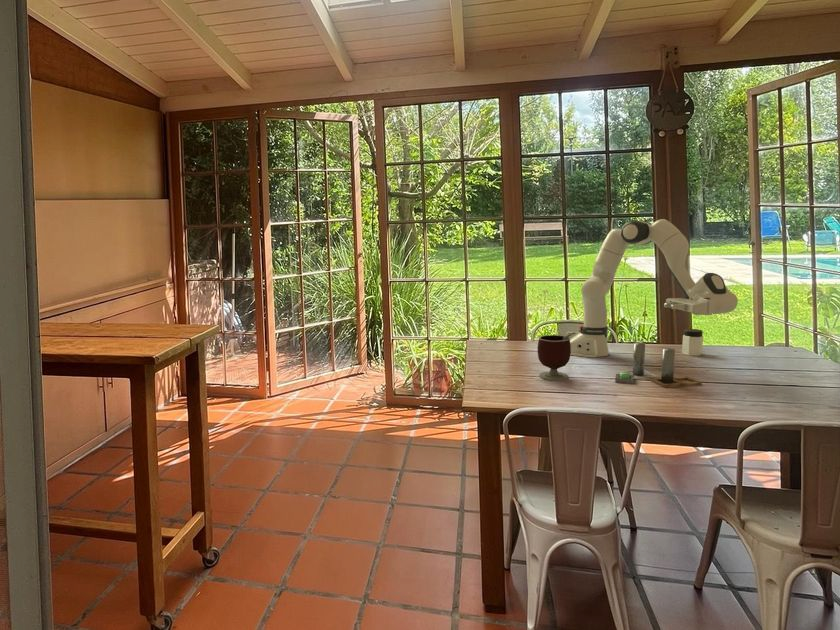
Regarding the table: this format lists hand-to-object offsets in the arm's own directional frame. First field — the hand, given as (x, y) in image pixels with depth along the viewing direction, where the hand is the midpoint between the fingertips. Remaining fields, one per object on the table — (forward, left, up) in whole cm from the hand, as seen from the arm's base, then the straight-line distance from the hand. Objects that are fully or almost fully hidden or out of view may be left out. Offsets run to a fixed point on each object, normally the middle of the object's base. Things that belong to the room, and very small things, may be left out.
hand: (668, 306), depth 223 cm
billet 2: (0, -17, -29) cm, 33 cm away
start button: (-16, -18, -30) cm, 38 cm away
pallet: (+3, -15, -30) cm, 34 cm away
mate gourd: (-44, -16, -30) cm, 55 cm away
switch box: (-16, -18, -30) cm, 38 cm away
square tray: (-11, -6, -30) cm, 32 cm away
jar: (+13, +44, -30) cm, 55 cm away
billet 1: (-11, -6, -29) cm, 32 cm away
